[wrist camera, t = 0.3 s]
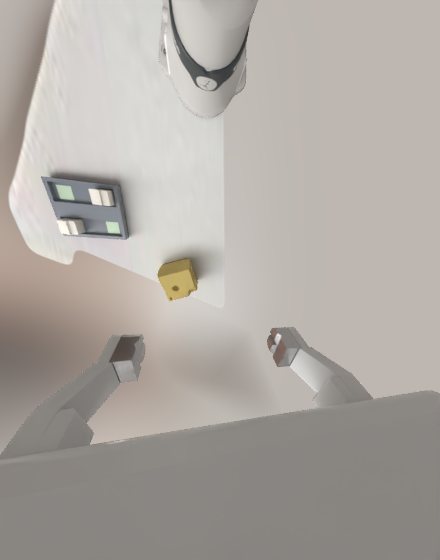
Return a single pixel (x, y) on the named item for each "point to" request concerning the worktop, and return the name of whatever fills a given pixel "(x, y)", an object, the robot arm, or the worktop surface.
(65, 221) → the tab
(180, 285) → the cheese
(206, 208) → the worktop surface
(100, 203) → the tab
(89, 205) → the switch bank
